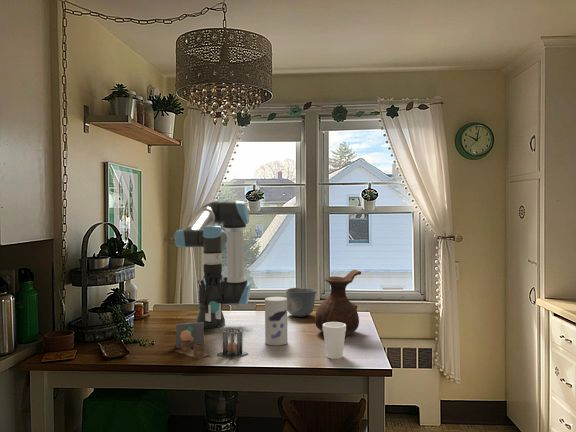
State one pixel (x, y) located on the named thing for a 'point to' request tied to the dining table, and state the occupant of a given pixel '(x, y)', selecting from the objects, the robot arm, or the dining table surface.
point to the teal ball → (214, 306)
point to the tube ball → (233, 347)
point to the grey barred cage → (225, 344)
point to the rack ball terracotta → (185, 335)
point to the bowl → (300, 301)
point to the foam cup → (334, 339)
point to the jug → (338, 305)
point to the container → (276, 320)
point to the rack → (192, 350)
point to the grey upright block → (195, 330)
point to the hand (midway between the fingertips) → (213, 319)
